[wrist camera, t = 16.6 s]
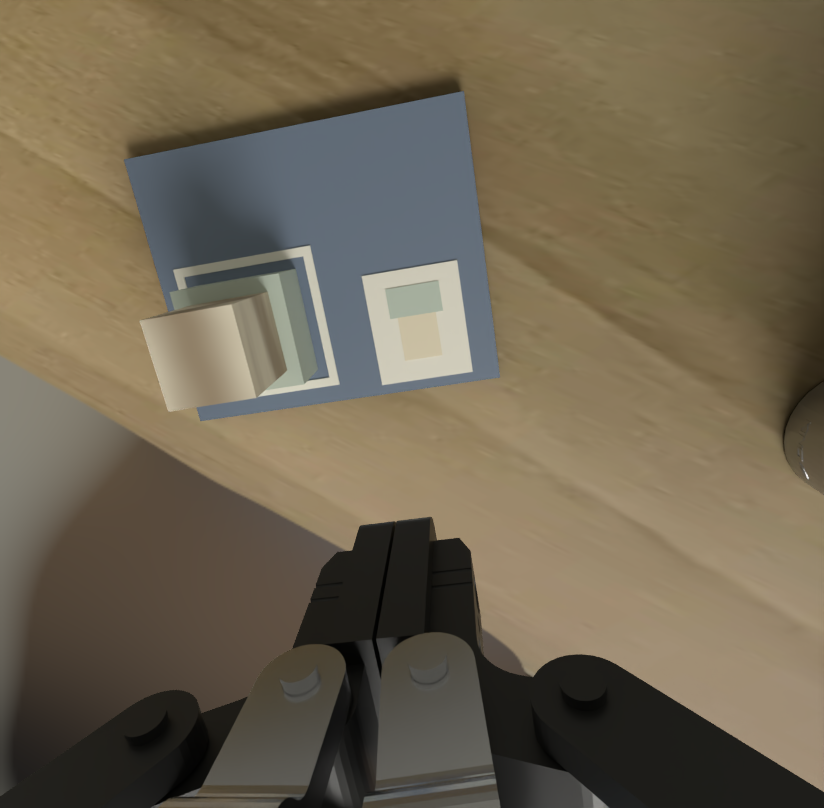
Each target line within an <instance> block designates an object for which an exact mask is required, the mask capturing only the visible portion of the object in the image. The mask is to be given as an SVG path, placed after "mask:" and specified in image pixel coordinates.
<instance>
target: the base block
mask: <svg viewBox="0 0 824 808" xmlns="http://www.w3.org/2000/svg"><path fill="white" fill-rule="evenodd" d="M263 292H268V295H269V299H270V303H271V307H272V311H273V315H274V319H275V323H276V327H277V331H278V335H279V339H280V343H281V347H282V351H283V355H284V359H285V363H286V367H287V371H286V372H285V373H284V374H283V375H282V376H281V377H279V378H278V379H277V380H276V381H275V382H274V383H273V384H272V385H270V386H269V387H268V388H267V389H266V390H270V389H277V388H284V387H290V386H297V385H303V384H305V383H306V382H307V381H308V380H309V379H310V378H311V377H312V375H313V374H314V373H315V372H316V371H317V370H318V366H317V362H316V357H315V353H314V349H313V344H312V340H311V335H310V331H309V326H308V322H307V317H306V313H305V308H304V304H303V299H302V295H301V290H300V286H299V281H298V277H297V272H296V269H291V270H285V271H280V272H274V273H268V274H262V275H257V276H251V277H245V278H239V279H234V280H228V281H222V282H216V283H210V284H205V285H199V286H194V287H190V288H185V289H181V290H177V291H172V292H169V293H170V296H171V300H172V303H173V307H174V310H177V309H180V308H183V307H187V306H190V305H196V304H201V303H207V302H212V301H218V300H223V299H229V298H235V297H240V296H246V295H251V294H257V293H263Z"/></svg>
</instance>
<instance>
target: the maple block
mask: <svg viewBox="0 0 824 808" xmlns="http://www.w3.org/2000/svg"><path fill="white" fill-rule="evenodd" d="M140 324H141V327H142V330H143V333H144V336H145V339H146V343H147V346H148V349H149V352H150V355H151V358H152V361H153V365H154V368H155V371H156V374H157V377H158V380H159V384H160V387H161V390H162V393H163V396H164V399H165V402H166V406H167V409H168V412H170V411H177V410H183V409H189V408H196V407H202V406H208V405H215V404H221V403H227V402H234V401H240V400H246V399H253V398H257V397H258V396H259V395H260V394H261V393H263V392H264V391H265V390H266V389H267V388H268V387H269V386H270V385H272V384H273V383H274V382H275V381H276V380H277V379H278V378H279V377H281V376H282V375H283V374H284V373H285V372H286V371H287V367H286V363H285V359H284V355H283V351H282V347H281V343H280V339H279V335H278V331H277V327H276V323H275V319H274V315H273V311H272V307H271V303H270V299H269V295H268V292H263V293H257V294H251V295H246V296H240V297H235V298H229V299H223V300H218V301H212V302H207V303H201V304H196V305H190V306H187V307H183V308H180V309H177V310H173V311H170V312H167V313H164V314H160V315H157V316H154V317H150V318H147V319H144V320H140Z"/></svg>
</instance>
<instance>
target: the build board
mask: <svg viewBox="0 0 824 808" xmlns="http://www.w3.org/2000/svg"><path fill="white" fill-rule="evenodd" d="M124 162H125V165H126V168H127V172H128V175H129V179H130V182H131V185H132V189H133V192H134V196H135V199H136V202H137V206H138V209H139V213H140V216H141V220H142V223H143V226H144V230H145V233H146V237H147V240H148V243H149V247H150V250H151V254H152V257H153V260H154V264H155V267H156V271H157V274H158V278H159V281H160V284H161V288H162V291H163V295H164V298H165V301H166V305H167V308H168V312H170V311H173V310H174V307H173V303H172V300H171V296H170V293H169V292H172V291H177V290H181V289H185V288H190V287H194V286H199V285H205V284H210V283H216V282H222V281H228V280H234V279H239V278H245V277H251V276H257V275H262V274H268V273H274V272H280V271H285V270H291V269H296V272H297V277H298V281H299V286H300V290H301V295H302V299H303V304H304V308H305V313H306V317H307V322H308V326H309V331H310V335H311V340H312V344H313V349H314V353H315V357H316V362H317V366H318V370H317V371H316V372H315V373H314V374H313V375H312V377H311V378H310V379H309V380H308V381H307V382H306V383H305V384H303V385H297V386H290V387H284V388H277V389H270V390H265V391H264V392H263V393H261V394H260V395H259V396H258V397H257V398H253V399H246V400H240V401H234V402H227V403H221V404H215V405H208V406H202V407H197V411H198V414H199V417H200V421H204V420H211V419H218V418H225V417H232V416H239V415H246V414H252V413H259V412H266V411H273V410H280V409H287V408H293V407H300V406H307V405H314V404H321V403H328V402H334V401H341V400H348V399H355V398H362V397H369V396H376V395H382V394H389V393H396V392H403V391H410V390H417V389H423V388H430V387H437V386H444V385H451V384H458V383H464V382H471V381H478V380H485V379H492V378H499V377H500V374H499V366H498V358H497V350H496V342H495V334H494V326H493V319H492V311H491V303H490V295H489V287H488V279H487V271H486V263H485V255H484V248H483V240H482V232H481V224H480V216H479V208H478V200H477V192H476V184H475V177H474V169H473V161H472V153H471V145H470V137H469V129H468V121H467V113H466V106H465V98H464V91H462V92H457V93H452V94H447V95H442V96H437V97H432V98H427V99H422V100H417V101H412V102H407V103H402V104H397V105H392V106H387V107H382V108H377V109H372V110H367V111H362V112H358V113H353V114H348V115H343V116H338V117H333V118H328V119H323V120H318V121H313V122H308V123H303V124H298V125H293V126H288V127H283V128H278V129H273V130H268V131H263V132H258V133H253V134H248V135H243V136H239V137H234V138H229V139H224V140H219V141H214V142H209V143H204V144H199V145H194V146H189V147H184V148H179V149H174V150H169V151H164V152H159V153H154V154H149V155H144V156H139V157H134V158H129V159H124Z"/></svg>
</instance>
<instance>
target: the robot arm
mask: <svg viewBox="0 0 824 808" xmlns="http://www.w3.org/2000/svg"><path fill="white" fill-rule="evenodd" d="M784 447H785V455H786V457H787V460H788V463H789V465H790V466H791V468H792V469H793V471H794V472H795V474H796V475H798V476H799V477H800V478H801V479H802V480H803V481H805V482H806V483H807V484H809V485H810V486H812V487H813V488H814V489H816V490H817V491H819V492H820V493H821V494H823V495H824V382H822V383H820V384H819V385H818V386H816V387H815V388H814V389H812V390H811V391H810V392H808V394H807V395H806V396H805V397H804V398H803V399H802V400H801V401H800V402H799V403H798V405H797V406H796V408H795V409H794V411H793V413H792V414H791V416H790V419H789V421H788V424H787V426H786V430H785V437H784ZM0 808H824V792H823V791H821V790H819V789H818V788H816V787H815V786H813V785H811V784H810V783H808V782H806V781H805V780H803V779H802V778H800V777H798V776H797V775H795V774H793V773H792V772H790V771H789V770H787V769H785V768H784V767H782V766H780V765H779V764H777V763H776V762H774V761H772V760H771V759H769V758H767V757H766V756H764V755H763V754H761V753H759V752H758V751H756V750H754V749H753V748H751V747H750V746H748V745H746V744H745V743H743V742H741V741H740V740H738V739H737V738H735V737H733V736H732V735H730V734H728V733H727V732H725V731H724V730H722V729H720V728H719V727H717V726H715V725H714V724H712V723H711V722H709V721H707V720H706V719H704V718H702V717H701V716H699V715H698V714H696V713H694V712H693V711H691V710H689V709H688V708H686V707H685V706H683V705H681V704H680V703H678V702H676V701H675V700H673V699H672V698H670V697H668V696H667V695H665V694H663V693H662V692H660V691H659V690H657V689H655V688H654V687H652V686H650V685H649V684H647V683H646V682H644V681H642V680H641V679H639V678H637V677H636V676H634V675H633V674H631V673H629V672H628V671H626V670H624V669H623V668H621V667H620V666H618V665H616V664H614V663H612V662H610V661H608V660H606V659H603V658H600V657H596V656H591V655H568V656H563V657H559V658H556V659H554V660H552V661H550V662H548V663H547V664H545V665H543V666H542V667H541V668H540V669H539V670H538V671H537V673H536V674H535V675H534V677H527V676H521V675H517V674H513V673H509V672H507V671H504V670H502V669H500V668H498V667H496V666H494V665H493V664H492V663H491V662H489V661H488V660H487V659H486V658H485V657H484V652H483V640H482V627H481V616H480V609H479V602H478V596H477V590H476V583H475V577H474V571H473V564H472V558H471V551H470V550H469V549H468V548H467V546H466V545H465V544H464V543H463V542H462V541H461V540H460V538H454V539H445V540H437V539H436V533H435V527H434V523H433V519H432V517H426V518H417V519H409V520H401V521H397V522H395V521H394V522H385V523H377V524H369V525H361V526H360V527H359V530H358V533H357V536H356V540H355V543H354V547H353V550H352V551H344V552H337V553H336V554H335V555H334V556H333V557H332V558H331V559H330V560H329V562H327V563H326V564H325V565H324V567H323V568H322V569H321V572H320V575H319V578H318V581H317V583H316V588H315V589H314V591H313V594H312V597H311V603H309V605H308V608H307V610H306V613H305V616H304V619H303V621H302V624H301V626H300V629H299V632H298V635H297V637H296V640H295V643H294V645H293V648H292V649H291V650H289V651H287V652H285V653H283V654H281V655H279V656H278V657H276V658H275V659H274V660H273V661H271V662H270V663H269V664H268V665H267V666H266V667H265V668H264V669H263V671H262V672H261V673H260V675H259V676H258V678H257V680H256V682H255V684H254V686H253V688H252V690H251V692H250V694H249V695H248V697H246V698H243V699H241V700H238V701H235V702H233V703H230V704H227V705H224V706H221V707H218V708H215V709H212V710H210V711H207V712H204V713H201V711H200V708H199V705H198V702H197V699H196V698H195V697H194V696H193V695H192V694H190V693H188V692H185V691H180V690H170V691H164V692H160V693H157V694H154V695H151V696H149V697H146V698H144V699H143V700H140V701H138V702H137V703H135V704H133V705H132V706H130V707H129V708H127V709H126V710H124V711H123V712H121V713H120V714H119V715H117V716H116V717H114V718H113V719H112V720H110V721H108V722H107V723H106V724H104V725H103V726H101V727H100V728H98V729H97V730H96V731H94V732H93V733H91V734H90V735H88V736H87V737H85V738H84V739H82V740H81V741H80V742H78V743H77V744H75V745H74V746H72V747H71V748H69V750H67V751H65V752H64V753H62V754H61V755H60V756H58V757H57V758H55V759H54V760H52V761H51V762H49V763H48V764H47V765H45V766H44V767H42V768H41V769H39V770H38V771H36V772H35V773H33V774H32V775H31V776H29V777H28V778H26V779H25V780H23V781H22V782H20V783H19V784H18V785H16V786H15V787H13V788H12V789H10V790H9V791H7V792H6V793H5V794H3V795H2V796H0Z"/></svg>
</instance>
